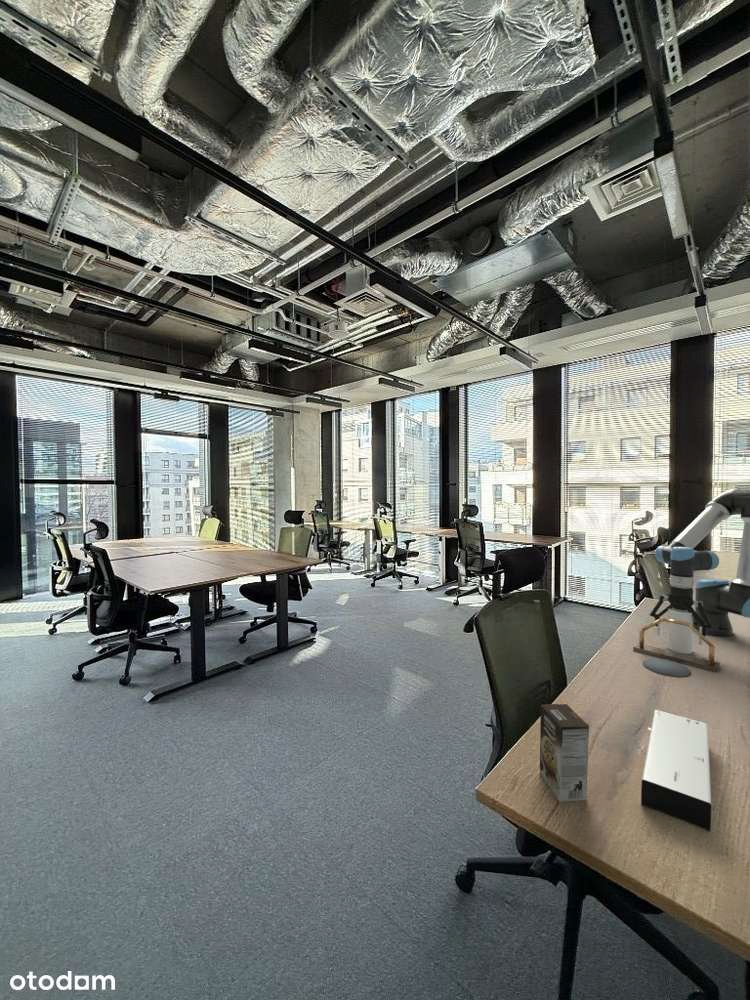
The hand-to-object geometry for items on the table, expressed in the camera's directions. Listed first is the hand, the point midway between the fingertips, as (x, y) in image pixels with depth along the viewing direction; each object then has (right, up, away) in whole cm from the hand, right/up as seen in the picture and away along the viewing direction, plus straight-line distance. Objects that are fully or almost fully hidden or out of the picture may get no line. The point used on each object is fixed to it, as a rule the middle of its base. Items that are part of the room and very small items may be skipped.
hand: (679, 639), depth 169 cm
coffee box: (-80, -7, -76) cm, 111 cm away
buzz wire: (-8, -4, -9) cm, 13 cm away
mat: (-17, -5, -17) cm, 24 cm away
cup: (0, -4, 0) cm, 4 cm away
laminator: (-52, -8, -72) cm, 89 cm away
